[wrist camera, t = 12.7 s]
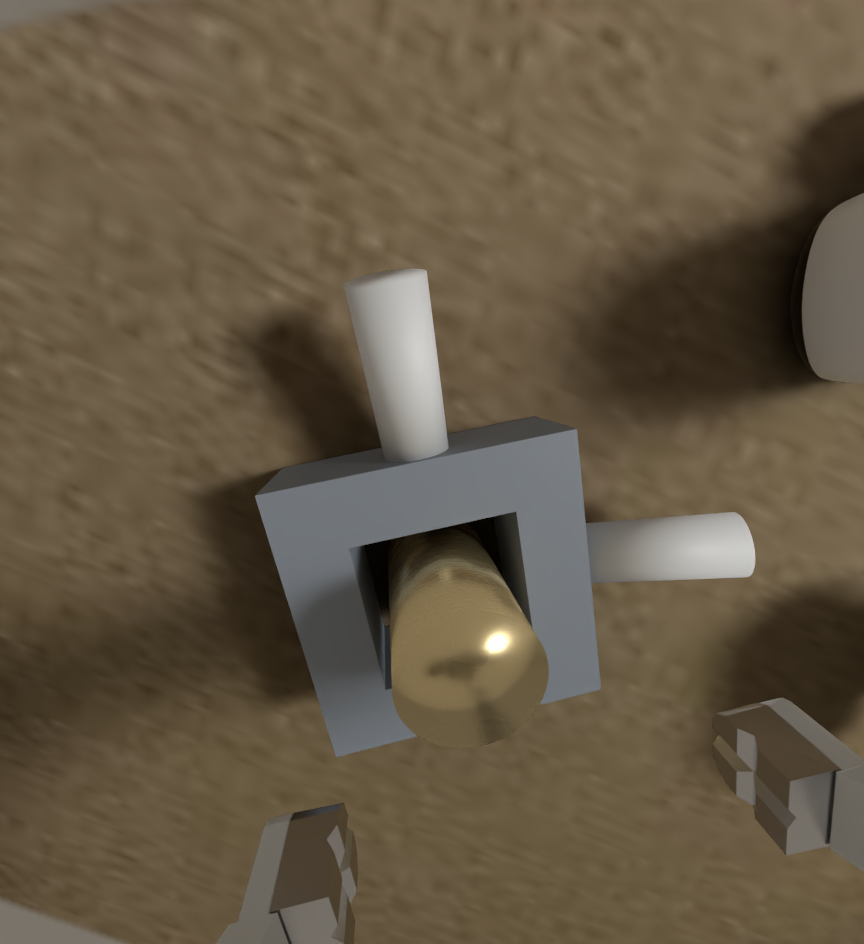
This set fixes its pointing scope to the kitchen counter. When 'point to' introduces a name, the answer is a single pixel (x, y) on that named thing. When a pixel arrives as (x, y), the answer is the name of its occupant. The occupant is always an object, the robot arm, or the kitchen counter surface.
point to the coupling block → (455, 523)
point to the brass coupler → (459, 642)
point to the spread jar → (832, 295)
